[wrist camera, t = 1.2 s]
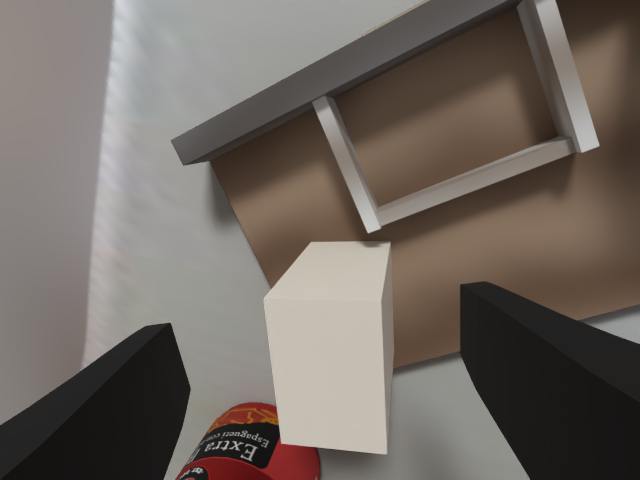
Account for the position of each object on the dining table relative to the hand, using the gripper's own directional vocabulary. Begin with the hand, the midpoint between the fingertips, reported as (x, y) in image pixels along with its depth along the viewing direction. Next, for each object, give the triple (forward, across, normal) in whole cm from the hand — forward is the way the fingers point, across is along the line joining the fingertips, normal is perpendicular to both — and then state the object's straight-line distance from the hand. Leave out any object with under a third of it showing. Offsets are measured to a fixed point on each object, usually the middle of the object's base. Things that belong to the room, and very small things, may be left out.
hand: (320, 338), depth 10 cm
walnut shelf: (+9, -9, -1) cm, 13 cm away
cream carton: (+10, -2, +4) cm, 11 cm away
